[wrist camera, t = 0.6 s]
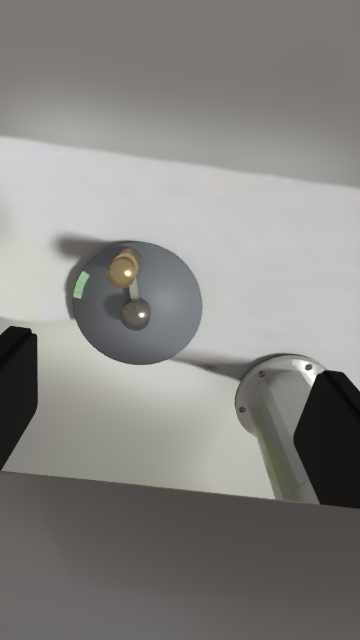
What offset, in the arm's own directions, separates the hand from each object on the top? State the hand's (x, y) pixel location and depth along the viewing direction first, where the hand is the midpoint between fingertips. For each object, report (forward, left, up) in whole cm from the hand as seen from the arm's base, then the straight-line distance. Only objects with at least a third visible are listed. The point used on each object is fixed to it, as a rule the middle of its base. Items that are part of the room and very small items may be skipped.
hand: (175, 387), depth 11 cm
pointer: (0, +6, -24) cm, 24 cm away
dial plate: (-2, +8, -26) cm, 27 cm away
